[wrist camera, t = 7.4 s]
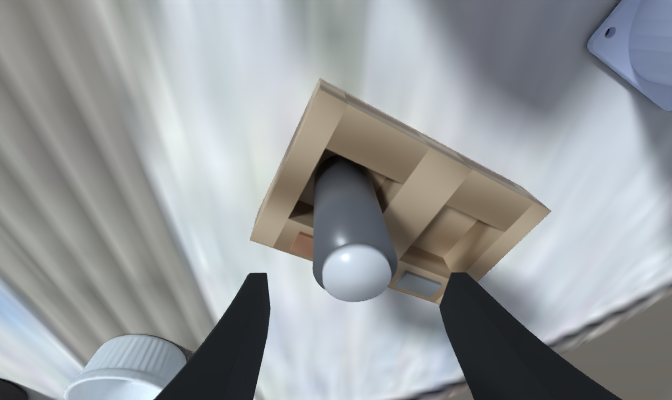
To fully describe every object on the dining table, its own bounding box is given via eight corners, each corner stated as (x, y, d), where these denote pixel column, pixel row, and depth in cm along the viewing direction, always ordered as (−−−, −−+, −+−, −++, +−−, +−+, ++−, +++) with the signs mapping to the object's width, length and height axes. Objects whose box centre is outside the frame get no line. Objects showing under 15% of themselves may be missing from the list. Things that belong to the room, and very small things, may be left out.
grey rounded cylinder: (329, 145, 18) (339, 231, 11) (379, 168, 19) (418, 262, 12) (305, 191, 20) (298, 294, 12) (352, 210, 21) (371, 316, 13)
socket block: (319, 78, 16) (320, 90, 14) (523, 187, 21) (554, 213, 18) (257, 212, 21) (248, 243, 18) (436, 278, 25) (451, 311, 23)
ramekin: (207, 346, 29) (191, 394, 25) (175, 387, 33) (156, 435, 29) (110, 316, 26) (76, 366, 22) (86, 365, 30) (53, 415, 26)
